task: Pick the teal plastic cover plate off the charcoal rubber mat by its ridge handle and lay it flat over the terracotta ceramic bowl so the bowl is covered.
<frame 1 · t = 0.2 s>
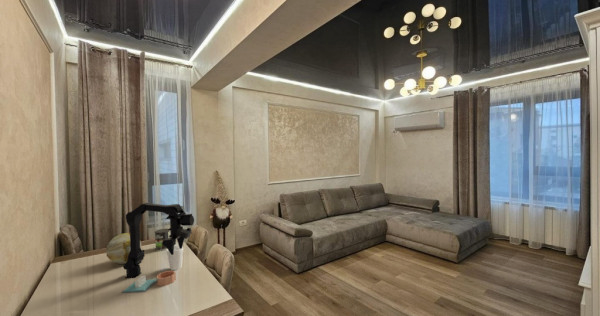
hand: (176, 251, 150), 14 cm above the table, tool pointing down, fingers open, 9 cm apart
mat: (140, 286, 138), on the table
decorative sphere: (125, 262, 172), on the table
foam cup: (176, 269, 159), on the table
bowl: (166, 282, 142), on the table
cover plate: (140, 282, 138), on the mat
coffee can: (163, 248, 196), on the table
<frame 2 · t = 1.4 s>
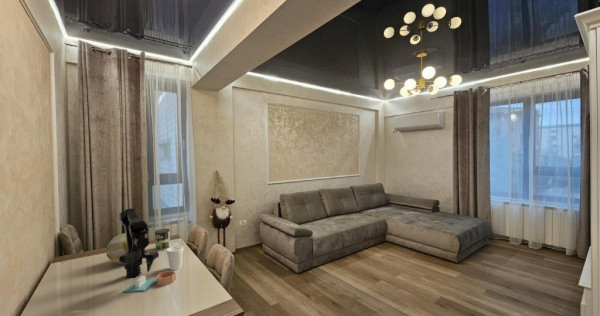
hand: (140, 272, 138), 8 cm above the table, tool pointing down, fingers open, 9 cm apart
nothing on the table moved.
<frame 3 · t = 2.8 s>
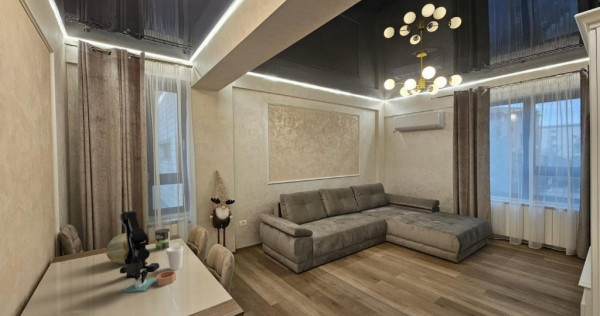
hand: (140, 283, 138), 2 cm above the table, tool pointing down, fingers closed on cover plate, 2 cm apart
cover plate: (140, 282, 138), on the mat, touching gripper
everything else where it was.
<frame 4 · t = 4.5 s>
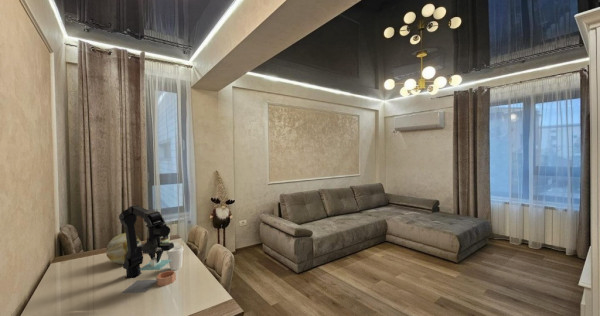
hand: (156, 262, 140), 12 cm above the table, tool pointing down, fingers closed on cover plate, 2 cm apart
cover plate: (155, 261, 140), point 13 cm above the table, touching gripper
everything else where it was.
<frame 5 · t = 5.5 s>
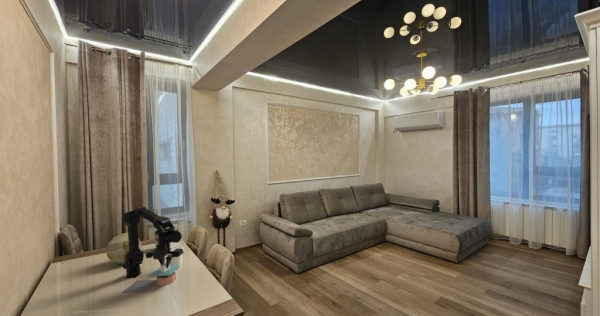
hand: (165, 268, 142), 8 cm above the table, tool pointing down, fingers closed on cover plate, 2 cm apart
cover plate: (165, 267, 141), point 9 cm above the table, touching gripper
everything else where it was.
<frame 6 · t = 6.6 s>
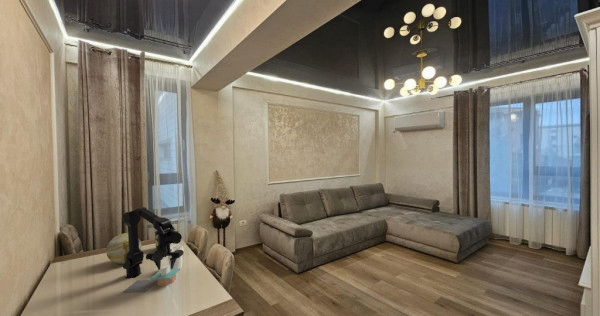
hand: (165, 269, 142), 7 cm above the table, tool pointing down, fingers open, 7 cm apart
cover plate: (165, 270, 141), on the bowl, point 7 cm above the table
everything else where it was.
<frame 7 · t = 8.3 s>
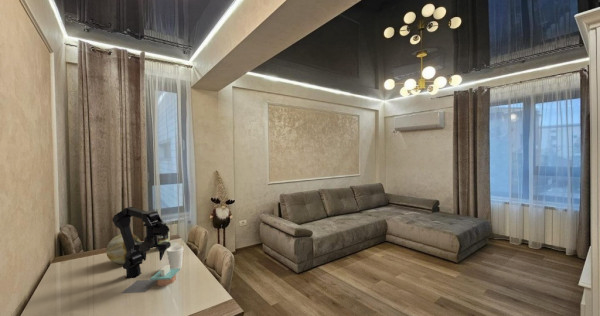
hand: (152, 260, 145), 12 cm above the table, tool pointing down, fingers open, 9 cm apart
nothing on the table moved.
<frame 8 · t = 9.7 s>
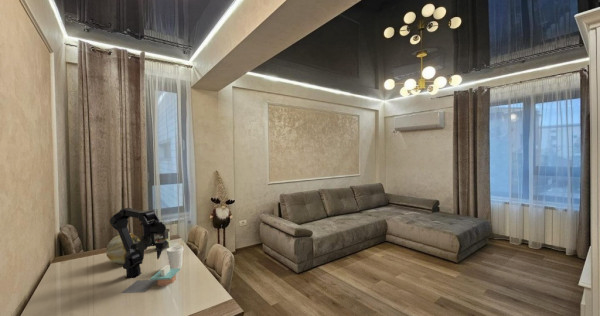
hand: (150, 259, 146), 12 cm above the table, tool pointing down, fingers open, 9 cm apart
nothing on the table moved.
at the end: cover plate 0.2 cm off-centre on the bowl, point 6.6 cm above the bowl's base; cover plate touching bowl; the gripper is holding nothing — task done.
